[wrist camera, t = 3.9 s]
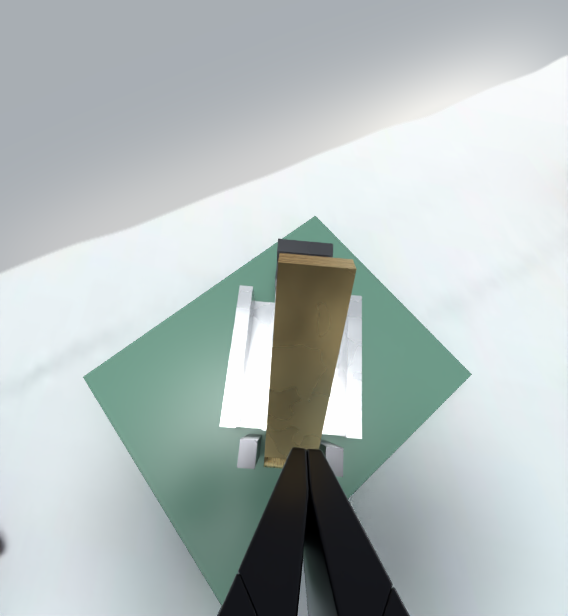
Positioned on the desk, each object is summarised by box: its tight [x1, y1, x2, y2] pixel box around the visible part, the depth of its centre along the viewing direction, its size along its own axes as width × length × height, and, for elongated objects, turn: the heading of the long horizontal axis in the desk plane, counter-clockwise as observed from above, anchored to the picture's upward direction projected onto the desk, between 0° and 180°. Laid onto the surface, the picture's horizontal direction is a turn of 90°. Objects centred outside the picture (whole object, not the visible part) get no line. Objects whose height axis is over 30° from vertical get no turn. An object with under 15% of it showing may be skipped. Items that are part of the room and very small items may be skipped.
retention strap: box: [264, 253, 357, 469], centre depth 13 cm, size 11×2×1 cm
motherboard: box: [83, 216, 472, 605], centre depth 21 cm, size 16×20×1 cm
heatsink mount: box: [220, 239, 362, 477], centre depth 19 cm, size 12×8×5 cm, turn 175°
